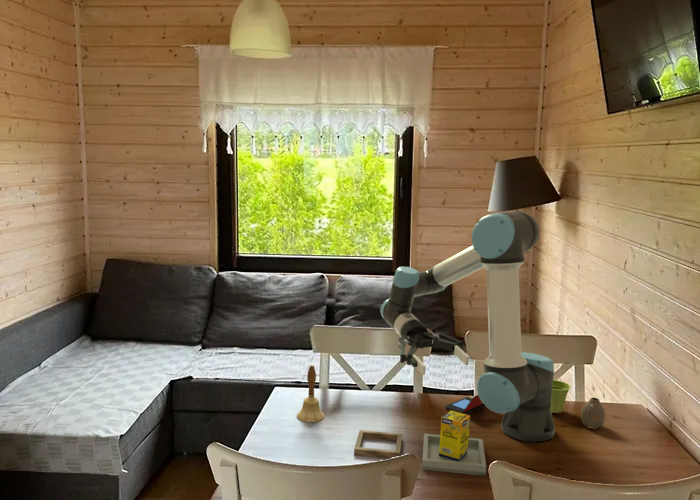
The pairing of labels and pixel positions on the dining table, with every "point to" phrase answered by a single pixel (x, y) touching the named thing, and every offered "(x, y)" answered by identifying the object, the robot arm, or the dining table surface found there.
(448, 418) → the supplement box
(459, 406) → the handheld game console
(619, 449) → the dining table surface
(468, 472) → the grey tray
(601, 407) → the vase
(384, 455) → the walnut collar
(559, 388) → the plant pot
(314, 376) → the hand bell
